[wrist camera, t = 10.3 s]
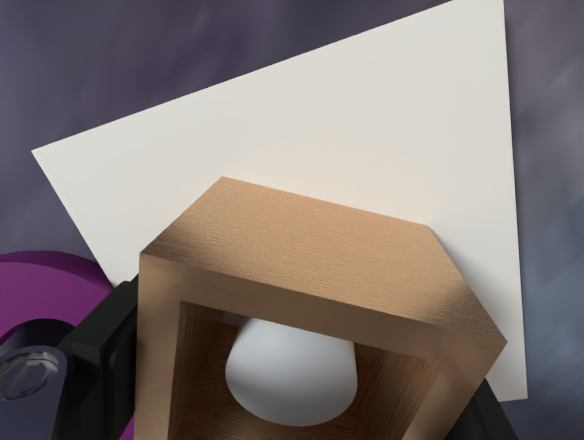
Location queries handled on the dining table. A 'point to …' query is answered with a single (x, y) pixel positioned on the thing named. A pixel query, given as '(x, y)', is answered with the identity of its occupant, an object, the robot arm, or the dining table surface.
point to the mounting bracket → (50, 292)
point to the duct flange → (326, 180)
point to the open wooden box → (305, 316)
